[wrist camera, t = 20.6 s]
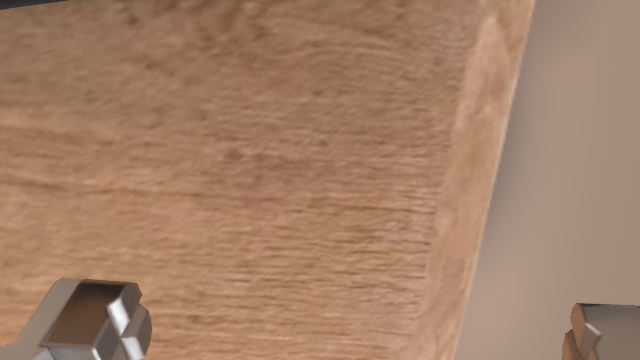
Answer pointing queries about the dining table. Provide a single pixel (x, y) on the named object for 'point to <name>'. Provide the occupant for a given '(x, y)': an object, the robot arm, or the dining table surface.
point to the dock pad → (23, 3)
